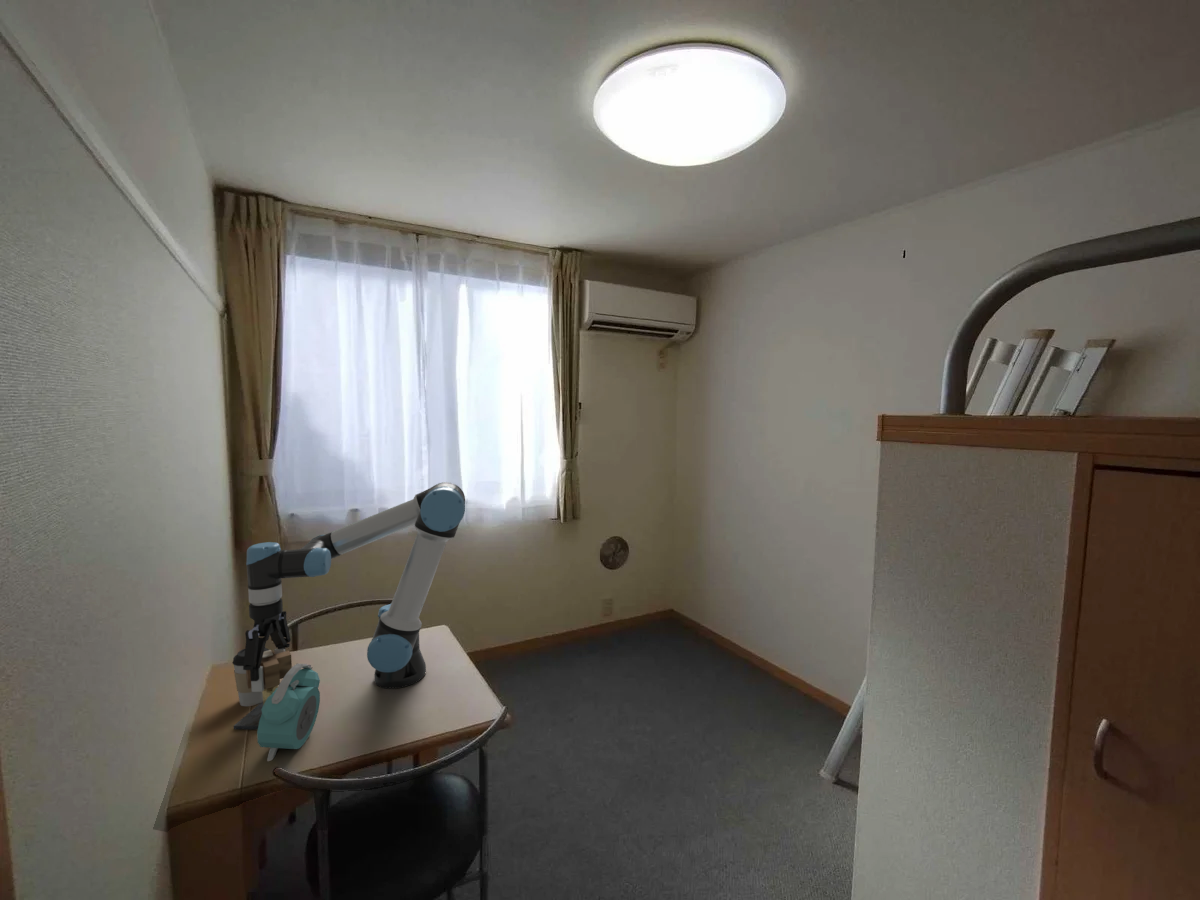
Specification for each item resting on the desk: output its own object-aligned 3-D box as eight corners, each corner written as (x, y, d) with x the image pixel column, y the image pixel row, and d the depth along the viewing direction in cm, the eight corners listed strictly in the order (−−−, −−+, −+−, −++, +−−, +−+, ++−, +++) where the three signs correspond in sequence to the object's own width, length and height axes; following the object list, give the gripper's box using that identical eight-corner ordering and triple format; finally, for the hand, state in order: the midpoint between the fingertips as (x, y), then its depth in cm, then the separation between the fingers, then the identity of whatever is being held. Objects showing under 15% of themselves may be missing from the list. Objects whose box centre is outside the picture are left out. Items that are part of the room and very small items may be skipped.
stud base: (306, 703, 142) (305, 672, 141) (278, 729, 130) (277, 696, 129) (264, 702, 142) (263, 672, 142) (233, 729, 130) (231, 696, 130)
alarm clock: (290, 723, 133) (287, 651, 131) (327, 722, 133) (324, 650, 132) (250, 770, 115) (246, 687, 114) (293, 767, 116) (289, 685, 115)
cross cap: (294, 683, 135) (293, 658, 135) (250, 697, 128) (248, 670, 128) (287, 669, 142) (286, 645, 142) (245, 682, 136) (243, 656, 135)
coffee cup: (253, 710, 139) (250, 658, 138) (226, 706, 140) (223, 655, 139) (280, 692, 147) (277, 643, 146) (254, 689, 149) (252, 641, 148)
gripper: (276, 586, 145) (280, 661, 146) (222, 617, 123) (227, 704, 124) (302, 586, 145) (306, 660, 146) (253, 616, 123) (257, 703, 125)
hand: (269, 680), depth 135 cm, fingers open, 9 cm apart
